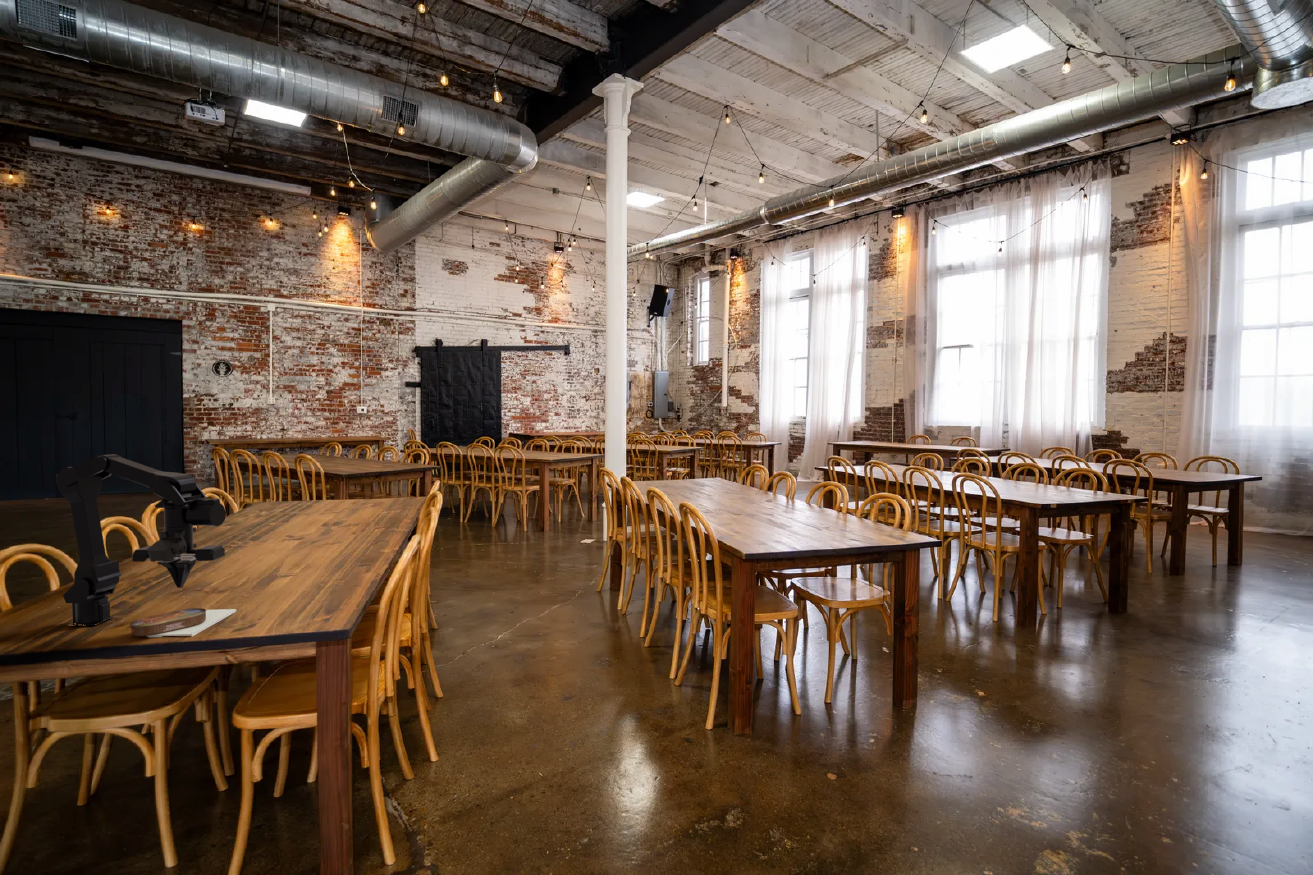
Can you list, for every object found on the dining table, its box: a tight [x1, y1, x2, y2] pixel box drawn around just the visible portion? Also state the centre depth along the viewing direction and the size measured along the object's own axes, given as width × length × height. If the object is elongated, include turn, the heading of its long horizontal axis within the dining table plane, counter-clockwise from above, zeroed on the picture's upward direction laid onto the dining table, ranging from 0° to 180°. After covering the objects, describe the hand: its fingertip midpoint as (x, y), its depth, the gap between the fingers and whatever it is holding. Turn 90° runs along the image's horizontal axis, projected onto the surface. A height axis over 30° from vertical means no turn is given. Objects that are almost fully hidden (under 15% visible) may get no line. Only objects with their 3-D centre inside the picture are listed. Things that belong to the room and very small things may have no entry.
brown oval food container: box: [129, 607, 207, 637], centre depth 158 cm, size 15×3×8 cm
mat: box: [146, 608, 237, 638], centre depth 163 cm, size 10×19×1 cm, turn 5°
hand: (180, 587), depth 161 cm, fingers closed
